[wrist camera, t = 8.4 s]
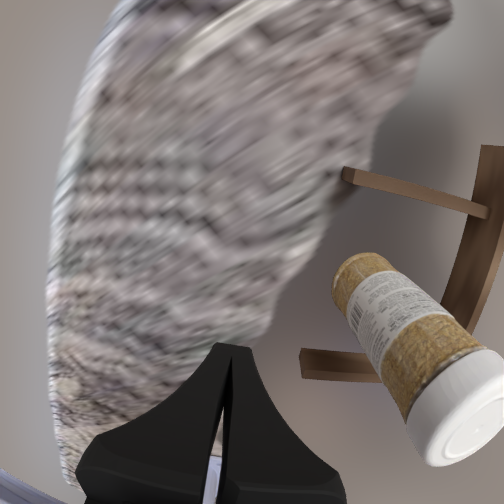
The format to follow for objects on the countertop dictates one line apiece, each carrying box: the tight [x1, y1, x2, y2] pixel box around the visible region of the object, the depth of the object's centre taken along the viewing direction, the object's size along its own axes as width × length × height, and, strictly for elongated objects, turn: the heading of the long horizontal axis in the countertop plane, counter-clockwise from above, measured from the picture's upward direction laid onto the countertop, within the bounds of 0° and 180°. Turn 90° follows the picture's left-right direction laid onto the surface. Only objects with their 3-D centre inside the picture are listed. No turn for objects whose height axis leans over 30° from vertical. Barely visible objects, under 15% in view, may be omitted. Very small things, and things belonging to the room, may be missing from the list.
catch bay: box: [299, 145, 504, 419], centre depth 18 cm, size 22×11×4 cm, turn 171°
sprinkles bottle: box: [332, 253, 504, 467], centre depth 14 cm, size 5×5×14 cm
